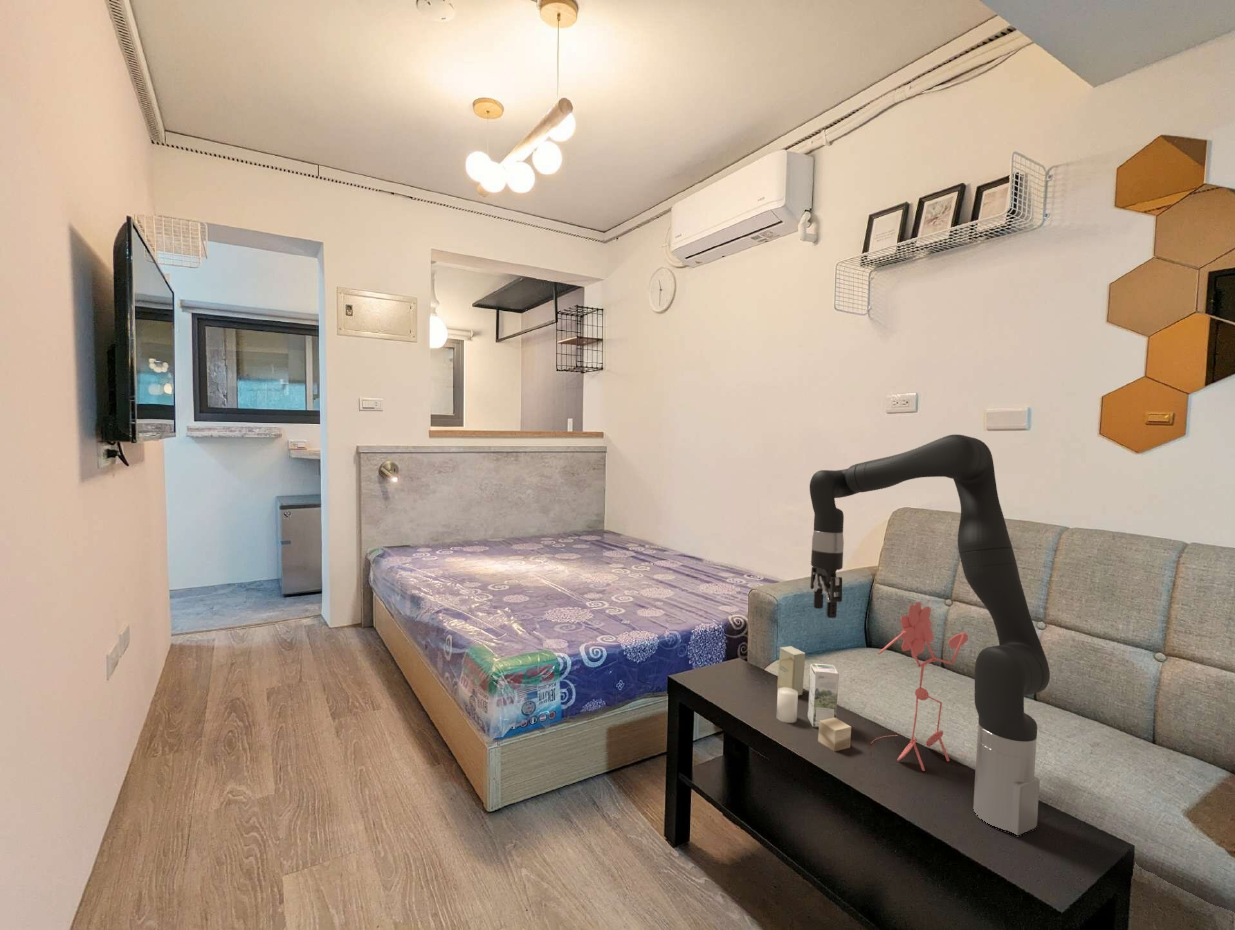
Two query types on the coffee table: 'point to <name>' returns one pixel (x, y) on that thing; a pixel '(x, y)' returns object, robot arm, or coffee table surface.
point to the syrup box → (822, 693)
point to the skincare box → (791, 669)
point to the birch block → (834, 734)
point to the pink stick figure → (914, 639)
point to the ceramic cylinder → (787, 705)
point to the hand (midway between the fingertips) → (824, 612)
